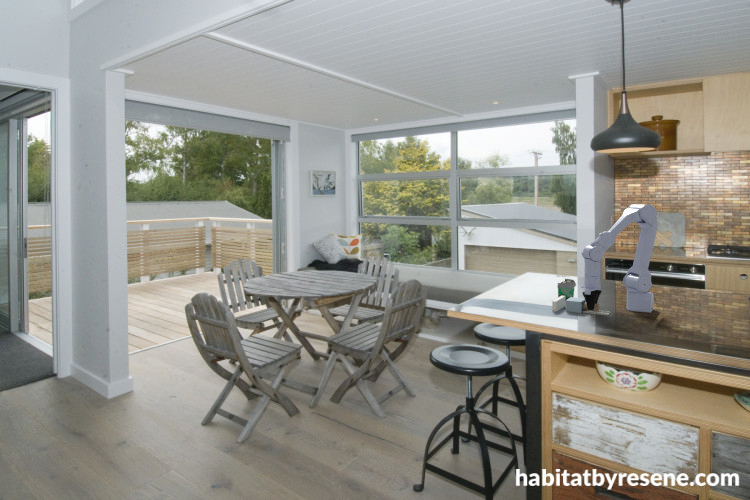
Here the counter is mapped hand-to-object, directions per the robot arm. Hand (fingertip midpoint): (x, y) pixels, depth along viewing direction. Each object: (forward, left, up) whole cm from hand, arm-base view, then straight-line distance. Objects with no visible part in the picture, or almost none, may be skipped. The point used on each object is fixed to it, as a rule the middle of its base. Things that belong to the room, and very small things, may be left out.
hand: (591, 308), depth 189 cm
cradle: (-2, 0, -3) cm, 3 cm away
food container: (+14, -17, -3) cm, 22 cm away
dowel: (+1, 0, -1) cm, 2 cm away
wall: (+13, 0, -3) cm, 13 cm away
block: (+6, 0, -3) cm, 7 cm away
